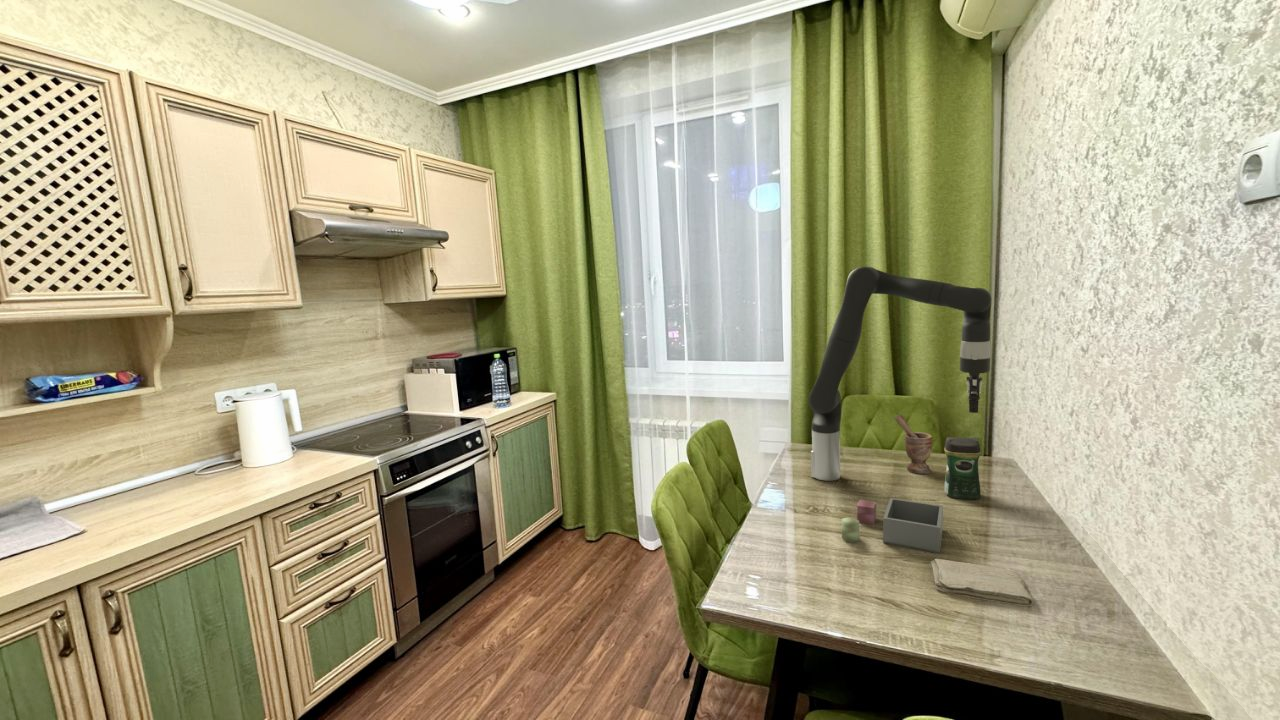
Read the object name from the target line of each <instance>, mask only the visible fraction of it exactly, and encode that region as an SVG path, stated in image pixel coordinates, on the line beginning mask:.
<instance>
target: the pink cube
mask: <svg viewBox="0 0 1280 720" xmlns="http://www.w3.org/2000/svg"><path fill="white" fill-rule="evenodd" d="M856 519H857V520H858V521H859V523H864V524H867V525H868V524H869V525H874V524H875V522H876V520H877V502H876V501H870V500H865V499H859V501H858V503H857V505H856Z"/></svg>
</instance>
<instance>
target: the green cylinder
mask: <svg viewBox="0 0 1280 720" xmlns="http://www.w3.org/2000/svg"><path fill="white" fill-rule="evenodd" d="M841 539H842V540H843V541H845V542H847V543H851V544H852V543H858V542H860V522H859V521H858V520H857V518H854V517H844V518H842V519H841Z"/></svg>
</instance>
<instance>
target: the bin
mask: <svg viewBox="0 0 1280 720" xmlns="http://www.w3.org/2000/svg"><path fill="white" fill-rule="evenodd" d="M882 519H883V520H882V524H883V525H882V526H883V527H882V531H883V532H882V533H883V535H882V536H883V537H882V539H883V541H882V543H883V544H887V545H892V546H897V547H903V548H908V549H913V550H919V551H924V552H928V553H932V554H933V553H934V554H939V555H940V554H941V547H942V540H943V539H942V538H943V532H944V531H943V530H944V527H943V526H944V525H943V524H944V523H943V522H944V505H942V504H941V505H940V504H935V503H934V504H933V503H927V502H922V501H913V500H907V499H901V498H895V497H890V498H889V501H888V504H887V506H886V509H885V511H884V515H883V518H882Z"/></svg>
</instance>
